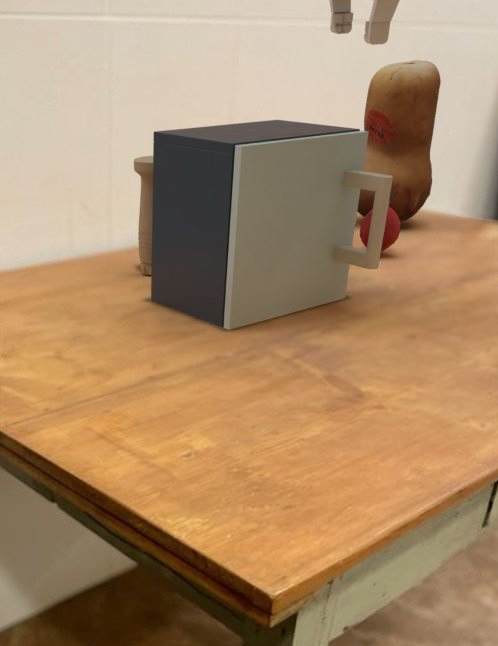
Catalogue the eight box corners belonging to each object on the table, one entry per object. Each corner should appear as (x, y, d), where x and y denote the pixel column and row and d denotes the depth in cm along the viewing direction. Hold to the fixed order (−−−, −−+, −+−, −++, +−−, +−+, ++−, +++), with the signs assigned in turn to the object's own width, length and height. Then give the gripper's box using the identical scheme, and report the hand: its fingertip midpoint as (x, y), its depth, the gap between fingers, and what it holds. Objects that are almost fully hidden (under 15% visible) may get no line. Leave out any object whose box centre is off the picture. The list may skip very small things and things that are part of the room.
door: (381, 314, 99) (411, 136, 88) (265, 349, 89) (284, 152, 78) (338, 301, 103) (361, 130, 93) (222, 332, 93) (235, 145, 83)
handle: (175, 269, 117) (178, 156, 109) (160, 281, 112) (162, 163, 104) (144, 266, 119) (145, 154, 111) (127, 277, 114) (127, 161, 106)
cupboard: (336, 301, 104) (360, 129, 93) (221, 333, 93) (233, 143, 83) (263, 279, 113) (277, 119, 102) (150, 306, 102) (153, 131, 92)
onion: (386, 261, 121) (396, 204, 116) (350, 255, 124) (358, 200, 119) (401, 253, 125) (410, 198, 120) (365, 248, 127) (373, 194, 123)
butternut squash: (327, 222, 144) (347, 60, 130) (375, 212, 151) (399, 57, 137) (392, 236, 134) (421, 63, 121) (440, 225, 141) (473, 60, 128)
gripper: (467, -157, 63) (434, 48, 71) (369, -139, 79) (351, 26, 88) (388, -153, 63) (364, 53, 71) (306, -136, 79) (294, 30, 87)
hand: (357, 38), depth 79 cm, fingers open, 8 cm apart
